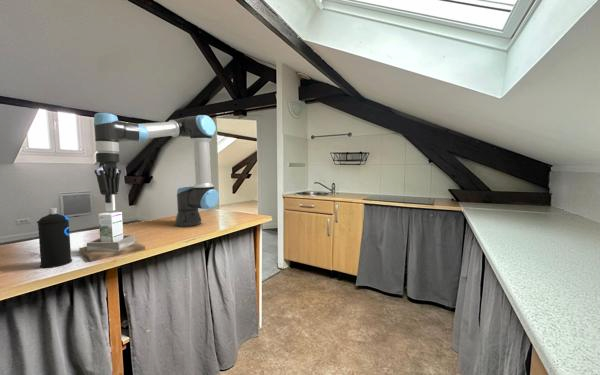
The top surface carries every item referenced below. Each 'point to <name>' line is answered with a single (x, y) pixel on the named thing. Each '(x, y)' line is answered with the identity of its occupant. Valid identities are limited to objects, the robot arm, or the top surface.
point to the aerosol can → (54, 240)
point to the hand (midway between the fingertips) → (110, 210)
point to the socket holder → (110, 248)
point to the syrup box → (111, 226)
